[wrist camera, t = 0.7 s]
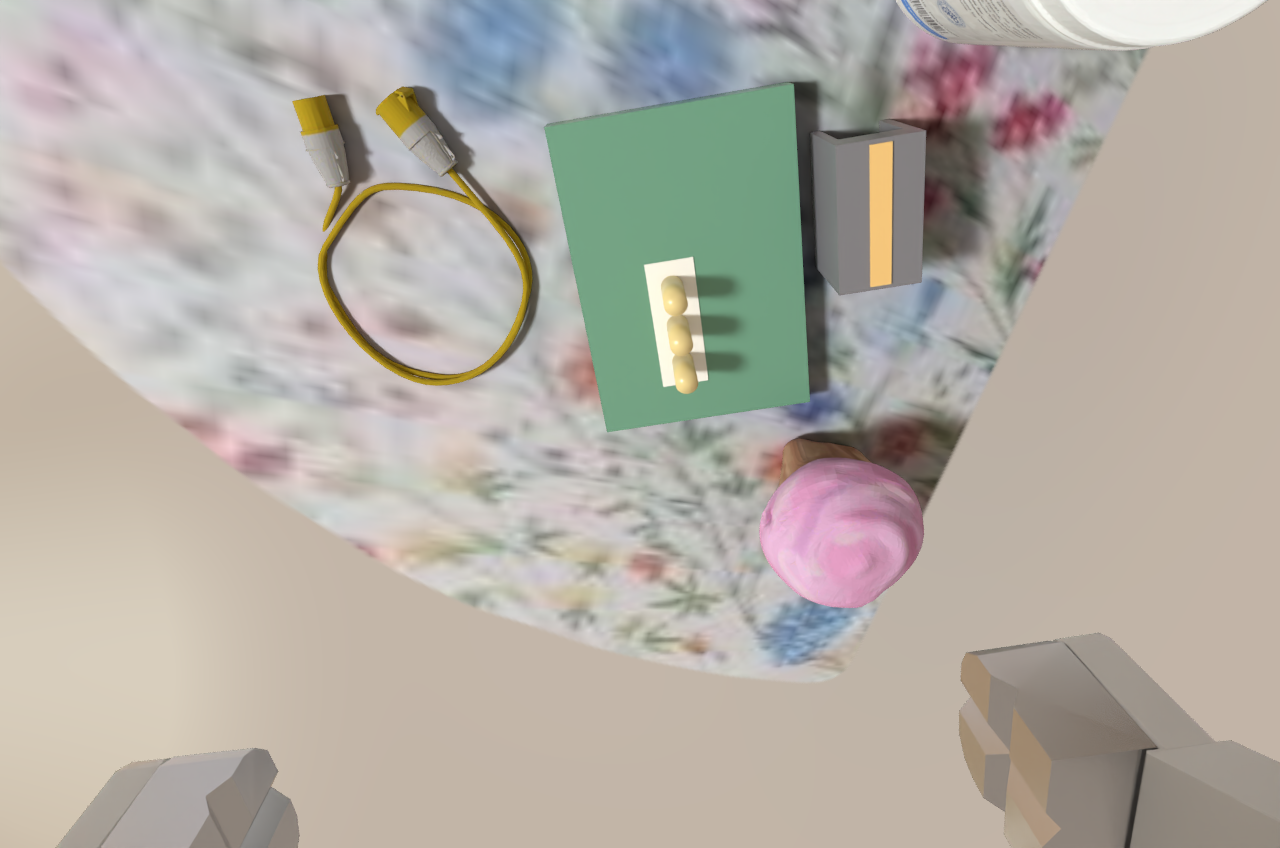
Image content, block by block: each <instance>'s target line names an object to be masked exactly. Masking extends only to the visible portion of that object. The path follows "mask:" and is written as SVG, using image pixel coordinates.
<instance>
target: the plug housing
mask: <svg viewBox="0 0 1280 848" xmlns="http://www.w3.org/2000/svg"><path fill="white" fill-rule="evenodd" d="M810 150H811V174H812V197H813V221H814V245H815V267H816V268H817V269H818V270H819V272H820V273H821V274H822V275H823V276H824V278H825V279H826V280H827V281H828V282H829V283H830V285H831V286H832V287H833V288H834V289H835V291H836V292H837V293H838V294H839V295H845V294H851V293H858V292H864V291H870V290H877V289H883V288H889V287H896V286H902V285H908V284H915V283H921V282H922V252H923V219H924V185H925V152H926V130H923V129H920V128H917V127H913V126H910V125H907V124H904V123H901V122H897V121H894V120H891V119H886V120H880V121H879V133H874V134H868V135H862V136H856V137H850V138H844V139H836V138H834V137H831V136H829V135H827V134H825V133H823V132H821V131H816V132H810Z"/></svg>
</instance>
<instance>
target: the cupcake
mask: <svg viewBox="0 0 1280 848" xmlns="http://www.w3.org/2000/svg"><path fill="white" fill-rule="evenodd" d="M759 533H760V542H761V546H762V549H763V552H764V554H765V556H766V558H767V560H768V562H769V564H770V565H771V567H772V568H773V569H774V571H775V572H776V573H777V574H778V576H779V577H780V578H781V579H782V580H783V581H784V582H785V583H786V584H787V585H788V586H789V587H791V588H792V589H793V590H794V591H795V592H796V593H798V594H799V595H800V596H802V597H804V598H806V599H808V600H810V601H813V602H815V603H819V604H822V605H826V606H831V607H843V608H857V607H862V606H864V605H865V604H867V603H869V602H871V601H874V600H875V599H876V598H877V597H878V596H879V595H880V594H881V593H882V592H883V591H885V590H886V589H888V588H889V587H890V586H892V585H893V584H894V583H895V582H897V581H898V580H899V579H900V578H901V576H903V574H904V573H905V572H906V571H907V570H908V569H909V568H910V566H911V565H912V564H913V562H914V561H915V560H916V558H917V556H918V554H919V551H920V549H921V546H922V543H923V537H924V527H923V517H922V510H921V507H920V504H919V501H918V498H917V496H916V494H915V493H914V491H913V489H912V488H911V487H910V485H909V484H908V483H907V482H906V481H905V480H904V479H902V478H901V477H900V476H898V475H897V474H895V473H894V472H892V471H890V470H888V469H886V468H884V467H882V466H879V465H877V464H873V463H871V462H870V461H869V460H868V459H867V458H866V457H865V456H864V455H863V454H862V453H861V452H860V451H858V450H857V449H855V448H854V447H850V446H844V445H837V444H833V443H820V442H813V441H810V440H806V439H794V440H791V441H790V442H788V443H787V444H786V446H785V447H784V450H783V458H782V468H781V475H780V481H779V487H778V489H777V490H776V491H775V492H774V494H773V495H772V497H771V499H770V500H769V502H768V504H767V506H766V508H765V510H764V512H763V513H762V518H761V522H760V531H759Z"/></svg>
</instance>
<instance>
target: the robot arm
mask: <svg viewBox="0 0 1280 848" xmlns="http://www.w3.org/2000/svg"><path fill="white" fill-rule="evenodd" d="M961 682H962V684H963V685H964V687H965V688H966V690H967V691H968V693H969V695H970V696H971V697H970V698H969V699H968V701H967V702H966V703H965V704H964V706H963V707H962V708H961V709H960V710H959V735H960V739H961V744H962V748H963V752H964V757H965V760H966V763H967V765H968V768H969V770H970V773H971V775H972V778H973V780H974V781H975V783H976V785H977V787H978V789H979V791H980V792H981V794H982V796H983V798H985V799H986V800H988V801H989V802H991V803H992V804H994V805H995V806H997V807H998V808H1000V809H1001V810H1003V811H1005V823H1004V835H1005V837H1006V839H1007V840H1008V842H1009V844H1010V846H1011V847H1012V848H1280V762H1277V761H1275V760H1273V759H1271V758H1269V757H1266V756H1264V755H1262V754H1260V753H1258V752H1256V751H1253V750H1251V749H1249V748H1247V747H1245V746H1242V745H1240V744H1238V743H1236V742H1234V741H1232V740H1229V741H1220V742H1215V741H1214V740H1213V739H1212V738H1211V737H1210V736H1209V735H1208V734H1207V733H1206V732H1205V731H1204V730H1203V729H1202V728H1201V727H1200V726H1199V725H1198V724H1197V723H1196V722H1195V721H1194V720H1193V719H1192V718H1191V717H1190V716H1189V715H1188V714H1187V713H1186V712H1185V711H1184V710H1183V709H1182V708H1181V707H1180V706H1179V705H1178V704H1177V703H1176V702H1175V701H1174V700H1173V699H1172V698H1171V697H1170V696H1169V695H1168V694H1167V693H1166V692H1165V691H1164V690H1163V689H1162V688H1161V687H1160V686H1159V685H1158V684H1157V683H1156V682H1155V681H1154V680H1153V679H1152V678H1151V677H1150V676H1149V675H1148V674H1147V673H1146V672H1145V671H1144V670H1143V669H1142V668H1141V667H1139V665H1138V664H1137V663H1136V662H1135V661H1134V660H1133V659H1131V657H1130V656H1129V655H1128V654H1127V653H1126V652H1125V651H1124V650H1123V649H1122V648H1120V646H1118V645H1117V644H1116V643H1115V642H1114V641H1113V640H1112V639H1111V638H1110V637H1107V636H1105V635H1103V634H1101V633H1094V634H1088V635H1081V636H1074V637H1068V638H1060V639H1055V640H1053V641H1044V642H1037V643H1030V644H1023V645H1016V646H1009V647H1001V648H995V649H988V650H981V651H973V652H967V653H966V654H965V656H964V658H963V661H962V664H961ZM277 773H278V770H277V768H276V766H275V764H274V762H273V760H272V758H271V756H270V754H269V752H268V751H267V750H264V749H258V748H250V749H241V750H232V751H222V752H213V753H204V754H194V755H185V756H177V757H173V758H169V759H159V760H149V761H138V762H131V763H130V764H128V765H126V766H124V767H123V768H121V769H119V770H117V771H116V772H115V773H114V774H113V776H112V777H111V778H110V779H109V781H108V782H107V783H106V784H105V786H104V787H103V788H102V789H101V791H100V792H99V793H98V795H97V796H96V797H95V798H94V800H93V801H92V802H91V803H90V805H89V806H88V807H87V809H86V810H85V811H84V812H83V814H82V815H81V816H80V817H79V819H78V820H77V821H76V823H75V824H74V825H73V826H72V828H71V829H70V830H69V831H68V833H67V834H66V835H65V836H64V838H63V839H62V840H61V842H60V843H59V844H58V846H57V847H56V848H298V842H299V827H298V819H297V814H296V812H295V809H294V807H293V804H292V802H291V800H290V799H289V798H288V797H286V796H285V795H283V794H282V793H280V792H278V791H277V790H276V789H274V788H272V787H271V786H272V784H273V782H274V779H275V777H276V775H277Z"/></svg>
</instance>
